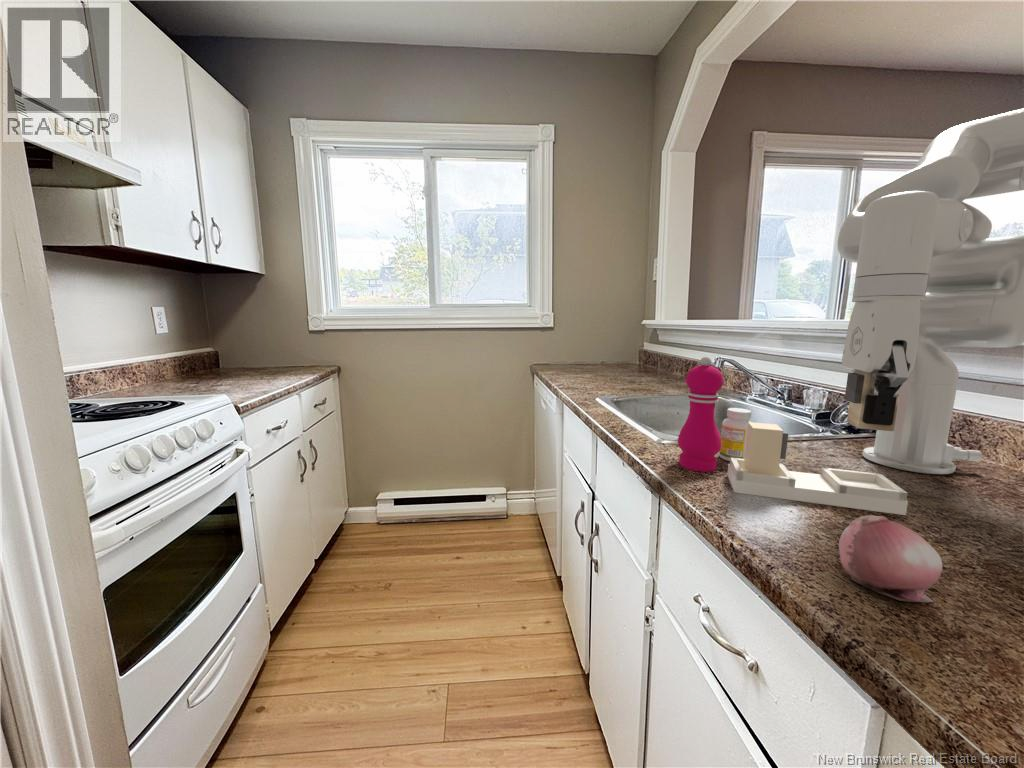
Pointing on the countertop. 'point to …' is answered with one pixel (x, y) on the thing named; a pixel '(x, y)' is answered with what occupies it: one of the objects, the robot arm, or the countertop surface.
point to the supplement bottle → (734, 433)
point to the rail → (807, 477)
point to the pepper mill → (701, 419)
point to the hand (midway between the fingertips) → (869, 419)
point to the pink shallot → (889, 558)
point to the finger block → (862, 400)
